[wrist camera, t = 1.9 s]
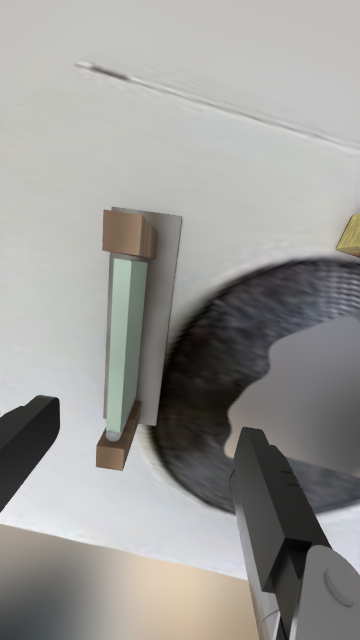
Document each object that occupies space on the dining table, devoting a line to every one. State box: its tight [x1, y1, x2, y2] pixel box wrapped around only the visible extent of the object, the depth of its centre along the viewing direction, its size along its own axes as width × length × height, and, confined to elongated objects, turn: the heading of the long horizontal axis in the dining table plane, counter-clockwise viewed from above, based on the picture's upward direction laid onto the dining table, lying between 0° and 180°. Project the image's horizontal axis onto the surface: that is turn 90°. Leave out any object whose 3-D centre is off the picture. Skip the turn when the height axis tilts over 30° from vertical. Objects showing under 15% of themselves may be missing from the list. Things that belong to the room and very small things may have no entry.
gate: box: [106, 258, 148, 441], centre depth 23 cm, size 19×2×7 cm, turn 172°
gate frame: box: [96, 207, 182, 471], centre depth 23 cm, size 8×29×9 cm, turn 172°
